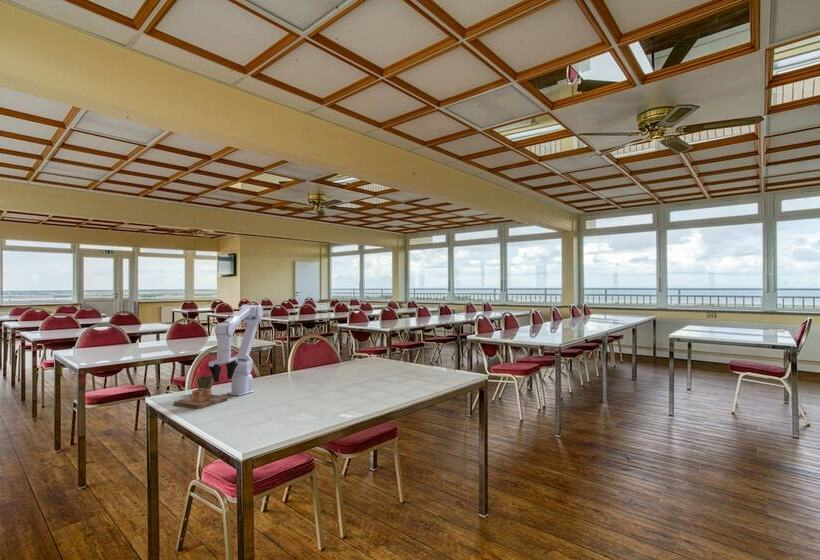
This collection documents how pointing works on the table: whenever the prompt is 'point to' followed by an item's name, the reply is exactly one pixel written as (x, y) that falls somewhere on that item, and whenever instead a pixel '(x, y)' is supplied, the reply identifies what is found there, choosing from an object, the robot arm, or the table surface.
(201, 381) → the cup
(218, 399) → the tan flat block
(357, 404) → the table surface
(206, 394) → the hollow wooden block
